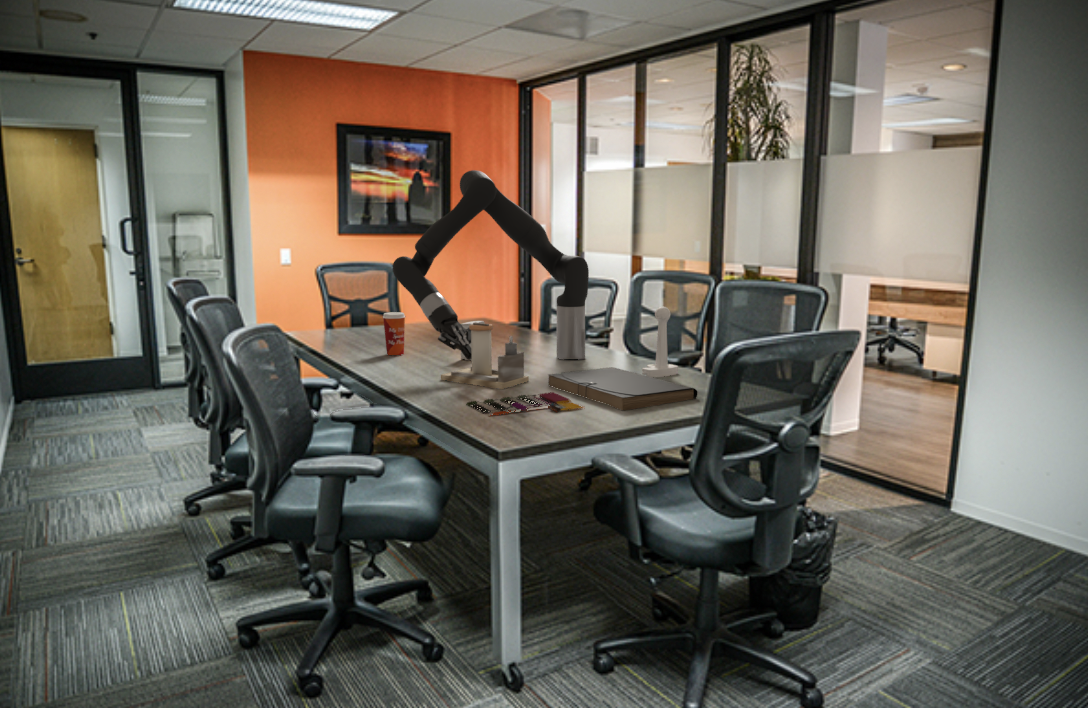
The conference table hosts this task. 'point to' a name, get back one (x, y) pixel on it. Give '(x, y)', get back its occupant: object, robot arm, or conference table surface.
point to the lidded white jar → (481, 348)
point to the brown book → (621, 388)
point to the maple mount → (494, 373)
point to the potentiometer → (510, 347)
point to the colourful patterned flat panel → (551, 397)
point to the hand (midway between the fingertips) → (471, 357)
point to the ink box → (466, 326)
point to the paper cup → (394, 332)
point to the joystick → (661, 348)
